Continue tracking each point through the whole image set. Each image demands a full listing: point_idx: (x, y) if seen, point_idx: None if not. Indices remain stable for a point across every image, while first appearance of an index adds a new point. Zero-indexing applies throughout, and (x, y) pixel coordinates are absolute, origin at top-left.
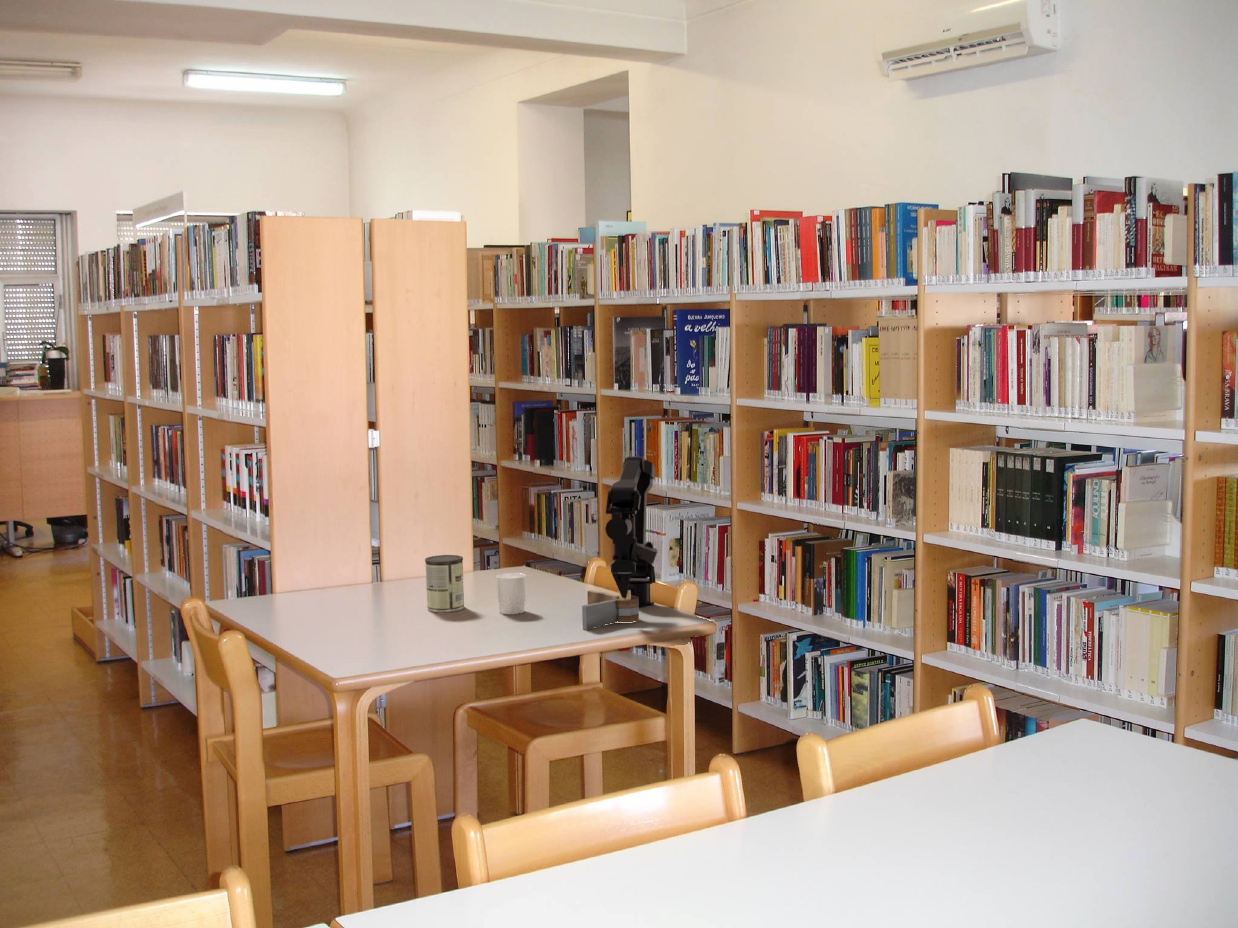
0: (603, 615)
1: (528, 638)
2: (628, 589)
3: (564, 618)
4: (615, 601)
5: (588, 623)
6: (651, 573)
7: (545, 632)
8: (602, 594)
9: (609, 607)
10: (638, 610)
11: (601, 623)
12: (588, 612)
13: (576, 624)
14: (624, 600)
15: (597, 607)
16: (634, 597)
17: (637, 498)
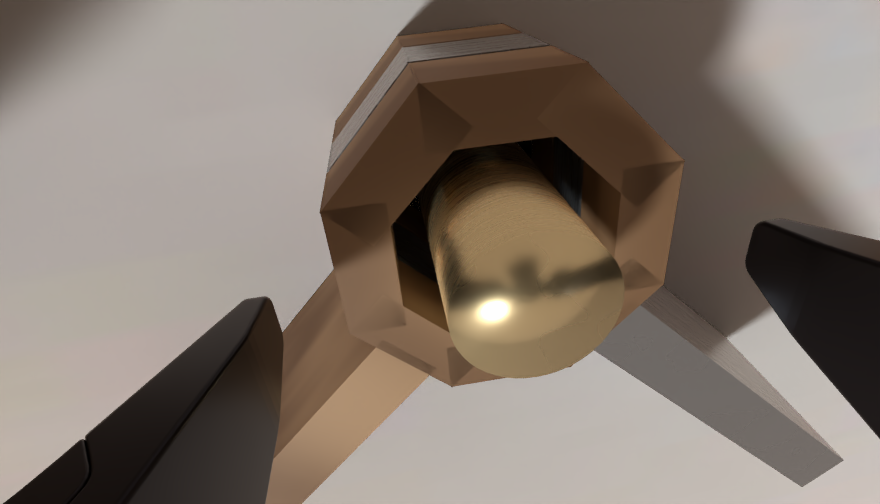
0: (682, 313)
1: (815, 497)
2: (474, 275)
3: (421, 491)
4: (648, 310)
5: (740, 354)
6: None
7: (724, 477)
8: (318, 480)
9: (672, 318)
10: (474, 43)
11: (664, 289)
12: (793, 410)
13: (570, 411)
14: (666, 227)
15: (763, 393)
16: (482, 135)
17: None
